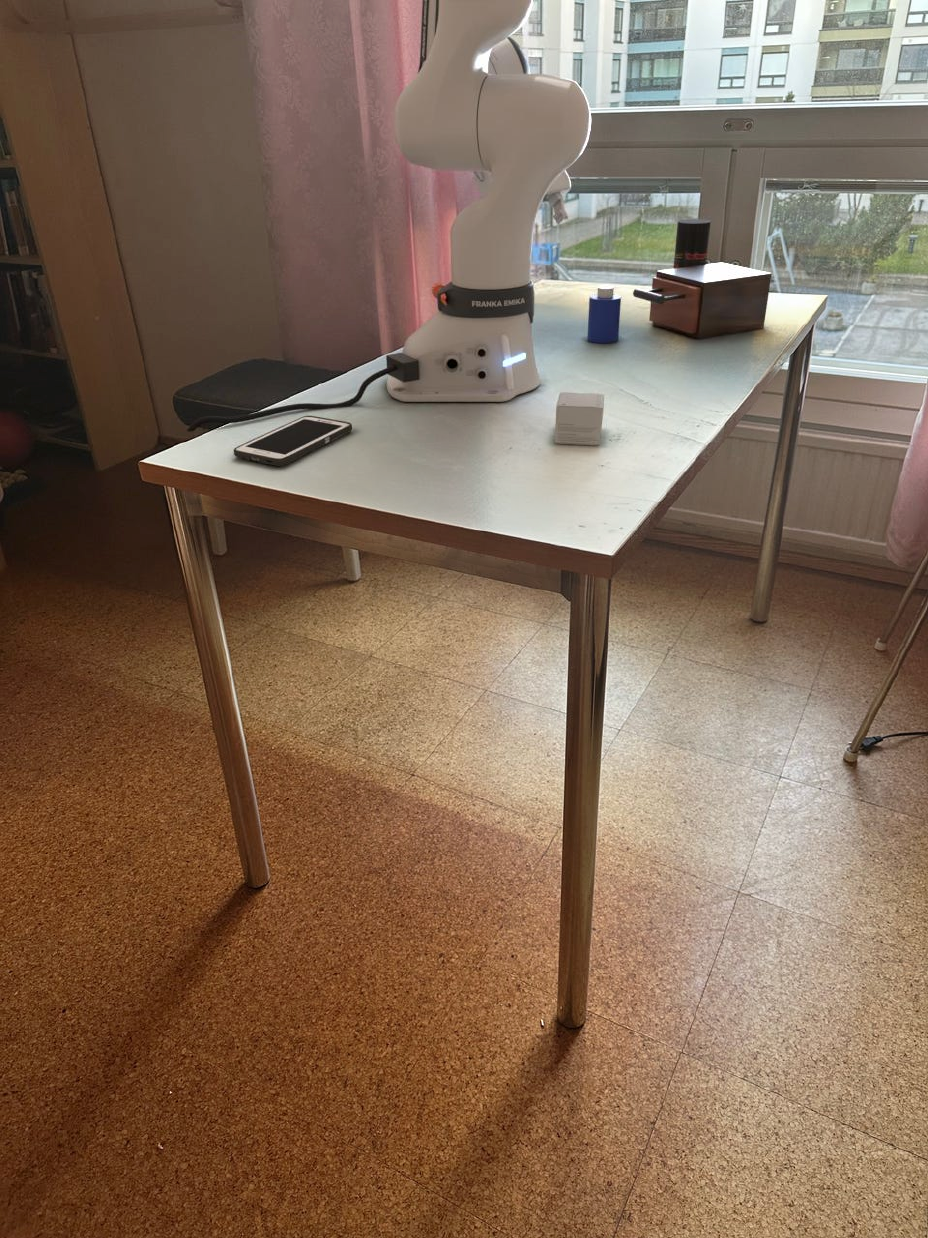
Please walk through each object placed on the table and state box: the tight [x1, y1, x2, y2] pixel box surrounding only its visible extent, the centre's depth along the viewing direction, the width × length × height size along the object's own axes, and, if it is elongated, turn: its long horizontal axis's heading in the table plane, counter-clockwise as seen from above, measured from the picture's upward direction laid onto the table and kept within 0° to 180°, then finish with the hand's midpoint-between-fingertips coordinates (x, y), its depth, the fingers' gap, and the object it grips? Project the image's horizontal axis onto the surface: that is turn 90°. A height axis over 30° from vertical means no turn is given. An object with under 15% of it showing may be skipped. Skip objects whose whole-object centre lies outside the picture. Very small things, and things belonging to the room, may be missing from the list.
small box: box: [554, 391, 605, 446], centre depth 112 cm, size 6×6×5 cm
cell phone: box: [233, 415, 353, 467], centre depth 113 cm, size 8×15×1 cm, turn 150°
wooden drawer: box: [632, 276, 701, 334], centre depth 157 cm, size 19×11×7 cm, turn 118°
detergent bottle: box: [586, 285, 622, 344], centre depth 152 cm, size 5×5×8 cm
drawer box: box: [651, 262, 772, 340], centre depth 159 cm, size 15×13×9 cm
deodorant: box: [672, 218, 712, 269], centre depth 172 cm, size 6×6×15 cm
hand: (547, 224), depth 153 cm, fingers open, 8 cm apart
